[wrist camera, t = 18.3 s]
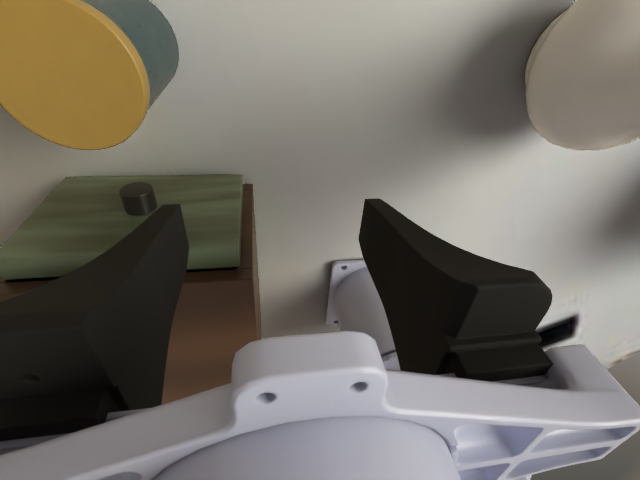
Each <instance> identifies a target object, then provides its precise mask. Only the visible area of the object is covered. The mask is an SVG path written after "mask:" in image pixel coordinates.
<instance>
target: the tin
mask: <svg viewBox="0 0 640 480" xmlns="http://www.w3.org/2000/svg"><path fill="white" fill-rule="evenodd" d="M178 60H179V52H178V45H177V40H176V37H175V34H174V32H173V30H172V28H171V26H170V24H169V22H168V21H167V19H166V18H165V17H164V15H163V14H162V13H161V12H160V11H159V10H158V8H157V7H155V6H154V5H153V4H152V3H151V2H150V1H148V0H0V104H1V106H2V107H3V108H4V109H5V110H6V111H7V112H8V113H9V114H10V115H11V116H12V117H13V118H14V119H16V120H17V121H18V122H19V123H20V124H22V125H23V126H25V127H26V128H27V129H29V130H30V131H32V132H34V133H35V134H37V135H39V136H40V137H42V138H45V139H47V140H49V141H51V142H54V143H56V144H59V145H62V146H66V147H70V148H75V149H82V150H98V149H105V148H109V147H112V146H115V145H118V144H120V143H122V142H124V141H125V140H126V139H128V138H129V137H130V136H131V135H132V134H133V133H134V132H135V131H136V130H137V128H138V127H139V126H140V124H141V123H142V121H143V120H144V118H145V115H146V113H147V110H148V109H149V108H150V107H151V105H152V104H153V103H154V101H155V100H156V99H157V97H158V96H159V95H160V94H161V92H162V91H163V90H164V88H165V87H166V86H167V85H168V83H169V82H170V81H171V79H172V78H173V76H174V74H175V72H176V69H177V66H178Z"/></svg>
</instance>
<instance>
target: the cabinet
mask: <svg viewBox="0 0 640 480" xmlns="http://www.w3.org/2000/svg"><path fill="white" fill-rule="evenodd" d="M47 279H48V277H47V278H30V279H12V280H3V279H2V278H1V277H0V302H2V301H4V300H7V299H10V298H13V297H16V296H18V295H21V294H23V293H26V292H29V291H31V290H33V289H36V288H38V287H40V286H43V285H45V284H47V283H49V282H52V281H54V280H47ZM260 339H261V311H260V295H259V279H258V263H257V247H256V231H255V215H254V199H253V185H252V184H243V213H242V239H241V264H240V267H237V270H219V271H202V272H186V273H185V277H184V281H183V285H182V288H181V292H180V295H179V299H178V303H177V306H176V310H175V313H174V317H173V322H172V326H171V333H170V339H169V346H168V353H167V361H166V368H165V377H164V386H163V395H162V404H165V403H169V402H172V401H175V400H178V399H181V398H184V397H188V396H191V395H194V394H197V393H200V392H204V391H207V390H210V389H213V388H216V387H220V386H223V385H226V384H229V383H231V376H232V363H233V360H234V356H235V353H236V352H237V351H239V350H240V349H241V348H243V347H244V346H245V345H247V344H248V343H250V342H252V341H256V340H260Z"/></svg>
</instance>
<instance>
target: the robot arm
mask: <svg viewBox="0 0 640 480" xmlns="http://www.w3.org/2000/svg"><path fill="white" fill-rule="evenodd" d="M359 243H360V247H361V251H362V255H363V258H364V260H348V261H336V262H334V263H333V264H332V268H331V277H330V286H329V295H328V305H327V314H326V323H327V325H339V326H340V330H341V331H336V332H325V333H313V334H302V335H291V336H280V337H268V338H264V339H260V340H256V341H252V342H250V343H248V344H247V345H245V346H244V347H243V348H241V349H240V350H239V351H237V352H236V353H235V356H234V360H233V363H232V376H231V383H229V384H226V385H223V386H220V387H216V388H213V389H210V390H207V391H204V392H200V393H197V394H194V395H191V396H188V397H184V398H181V399H178V400H175V401H172V402H169V403H165V404H162V395H163V386H164V377H165V368H166V361H167V353H168V346H169V339H170V333H171V326H172V322H173V317H174V313H175V310H176V306H177V303H178V299H179V295H180V292H181V288H182V285H183V281H184V277H185V273H186V270H187V263H188V254H189V243H188V239H187V234H186V229H185V225H184V220H183V215H182V210H181V206H180V204H163V205H162V206H161V207H159V208H158V209H157V210H156V211H155V212H154V213H153V214H151V215H150V216H149V217H148V218H147V219H146V220H145V221H144V222H142V223H141V224H140V225H139V226H138V227H137V228H136V229H134V230H133V231H132V232H131V233H129V234H128V235H127V236H126V237H124V238H123V239H122V240H120V241H119V242H118V243H117V244H115V245H114V246H113V247H111V248H110V249H108V250H107V251H105V252H104V253H102V254H101V255H99V256H98V257H96V258H95V259H93V260H91V261H90V262H88V263H86V264H85V265H83V266H81V267H79V268H77V269H75V270H73V271H71V272H70V273H68V274H66V275H64V276H62V277H60V278H58V279H56V280H54V281H52V282H49V283H47V284H45V285H43V286H40V287H38V288H36V289H33V290H31V291H29V292H26V293H23V294H21V295H18V296H16V297H13V298H10V299H7V300H4V301H2V302H0V480H530V478H531V475H532V474H536V473H540V472H544V471H547V470H552V469H555V468H560V467H565V466H569V465H573V464H578V463H583V462H589V461H594V460H600V459H602V458H603V457H604V456H606V455H607V454H608V453H610V452H611V451H612V450H613V449H615V448H616V447H617V446H619V445H620V444H621V443H622V442H624V441H625V440H627V439H628V438H629V437H630V436H632V435H633V434H634V433H636V432H637V431H638V430H639V429H640V406H639V405H638V404H637V403H636V402H635V401H634V400H633V399H632V397H631V396H630V395H629V394H628V393H627V392H626V391H625V390H624V389H623V387H622V386H621V385H620V384H619V383H618V382H617V381H616V380H615V379H614V377H613V376H612V375H611V374H610V373H609V372H608V371H607V370H606V369H605V367H604V366H603V365H602V364H601V363H600V362H599V361H598V360H597V359H596V357H595V356H594V355H593V354H592V353H591V352H590V351H589V350H588V349H587V347H586V346H585V345H581V344H579V345H570V346H561V347H554V348H550V349H549V350H547V351H545V352H544V351H543V350H542V348H541V347H540V346H539V345H538V343H540V342H541V337H540V336H539V334H538V333H537V332H536V331H535V329H536V328H537V326H538V325H539V323H540V322H541V320H542V319H543V317H544V316H545V314H546V313H547V311H548V309H549V307H550V305H551V301H552V293H551V290H550V289H549V288H548V287H547V286H546V285H545V284H544V283H543V281H542V280H541V279H540V278H539V277H538V276H537V275H536V274H535V273H534V272H533V271H529V270H525V269H521V268H517V267H513V266H509V265H505V264H501V263H498V262H495V261H492V260H489V259H486V258H483V257H480V256H478V255H475V254H472V253H470V252H468V251H465V250H463V249H460V248H458V247H456V246H454V245H452V244H450V243H448V242H446V241H444V240H442V239H440V238H438V237H436V236H434V235H433V234H431V233H429V232H428V231H426V230H424V229H423V228H421V227H420V226H418V225H417V224H415V223H414V222H412V221H411V220H409V219H408V218H406V217H405V216H404V215H402V214H401V213H399V212H398V211H397V210H395V209H394V208H393V207H391V206H390V205H388V204H387V203H386V202H384V201H383V200H381V199H365V202H364V209H363V215H362V221H361V228H360V234H359ZM342 266H345V267H342Z"/></svg>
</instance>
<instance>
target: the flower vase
mask: <svg viewBox="0 0 640 480" xmlns="http://www.w3.org/2000/svg"><path fill="white" fill-rule="evenodd" d="M525 84H526V103H527V112H528V116H529V118H530V120H531V122H532V124H533V126H534V129H535V130H536V132H538V133H539V134H540V135H541V136H542V137H543V138H544V139H545V140H547V141H548V142H549V143H552V144H554V145H557V146H560V147H563V148H566V149H571V150H603V149H608V148H612V147H615V146H619V145H623V144H627V143H630V142H632V141H635V140H637V139H639V138H640V0H578V1H576V2H575V3H574V4H573V5H572V6H570V7H569V8H568V9H567V10H566V11H564V12H563V13H562V14H561V15H559V16H558V17H557V18H556V19H555V20H553V21H552V22H551V23H550V25H549V26H548V27H547V28H546V29H545V30H544V32H543V33H542V34H541V35H540V37H539V39H538V40H537V42H536V44H535V45H534V47H533V49H532V51H531V54H530V57H529V59H528V62H527V66H526V72H525Z"/></svg>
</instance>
